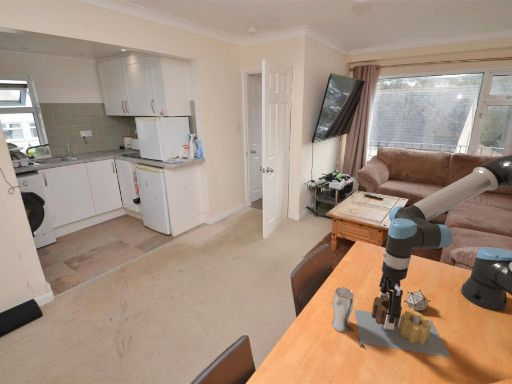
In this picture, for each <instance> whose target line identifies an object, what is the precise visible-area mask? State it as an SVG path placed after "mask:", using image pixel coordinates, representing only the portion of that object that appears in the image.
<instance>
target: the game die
mask: <svg viewBox="0 0 512 384" xmlns="http://www.w3.org/2000/svg"><path fill="white" fill-rule="evenodd" d="M421 291H422V289H421V288H420V289H419V291H418V290H417V291H414V292H409V291H407V297H406V299H405V300H403V302H404V303H406V304H407V305H408V306H409V307H410V309H412V310H414V311H416V312H418V311H420V312H421V311H425V312H428V309H427V307H428V304H429V302H431V300H429V299H428V298H427V297H426V296H425V295H424V294H423V293H422V292H421Z"/></svg>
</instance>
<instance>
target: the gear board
mask: <svg viewBox="0 0 512 384" xmlns="http://www.w3.org/2000/svg"><path fill="white" fill-rule="evenodd" d="M371 314H372V311H368V310H361V309H354V315H355V320H356V326H357V330H358V335H359V336H358V342H359V347H362V348H366V346H365V345H370V346H376V347H382V348H388V349H394V350H395V349H396V350H401V351H407V352H412V353H413V352H414V353H419V354H420V353H421V354H427V355H433V356H437V357H438V356H439V357H444V358H452V355H451V354H450V352H449V351H448V349H447V347H446V345H445V343H444V341H443V339H442V337H441V336H440V334H439V332H438V330H437V328H436V327H435V325H434V323H433V321H432V319H428V320H429V321H428V323H429V324H431V329H430V333H429V336H428V340H425V344H420V343H419V342H414V343H412V342H410V341H409V339H408V338H407V337H403V336H402V335H401V334H400V332H401V330H399V325H400V320H401V316H400V320H399V325H398V326H397V327H394V329H393V330H392V329H385V328H384V325H382V324H380V325H379V324H378V323H376V319H375V318H372V315H371ZM419 320H420V318H419V317H418V316H413V320H412V323H415V324H417V325H418V324H419Z"/></svg>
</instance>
